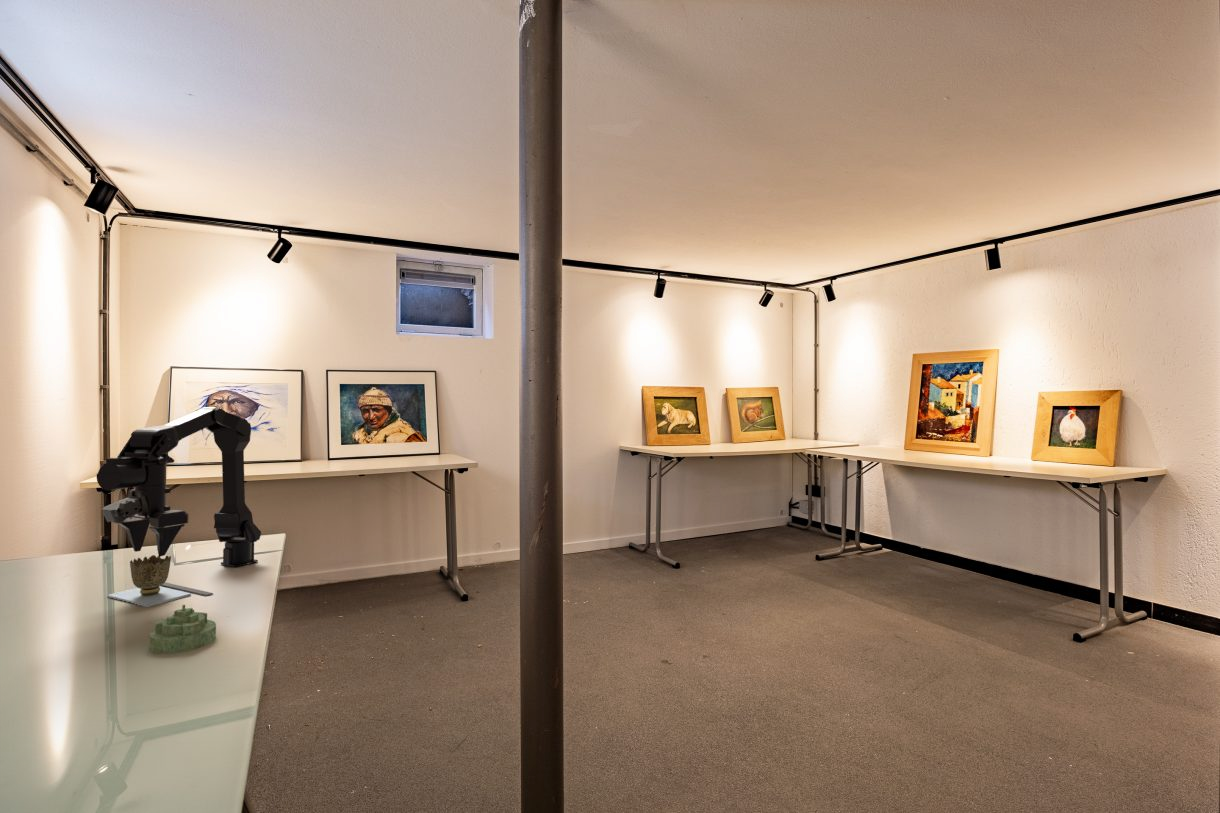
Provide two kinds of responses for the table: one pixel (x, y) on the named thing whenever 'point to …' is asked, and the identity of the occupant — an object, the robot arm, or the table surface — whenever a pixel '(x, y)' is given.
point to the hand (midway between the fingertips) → (149, 553)
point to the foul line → (187, 589)
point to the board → (151, 600)
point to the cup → (150, 573)
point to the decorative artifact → (182, 632)
